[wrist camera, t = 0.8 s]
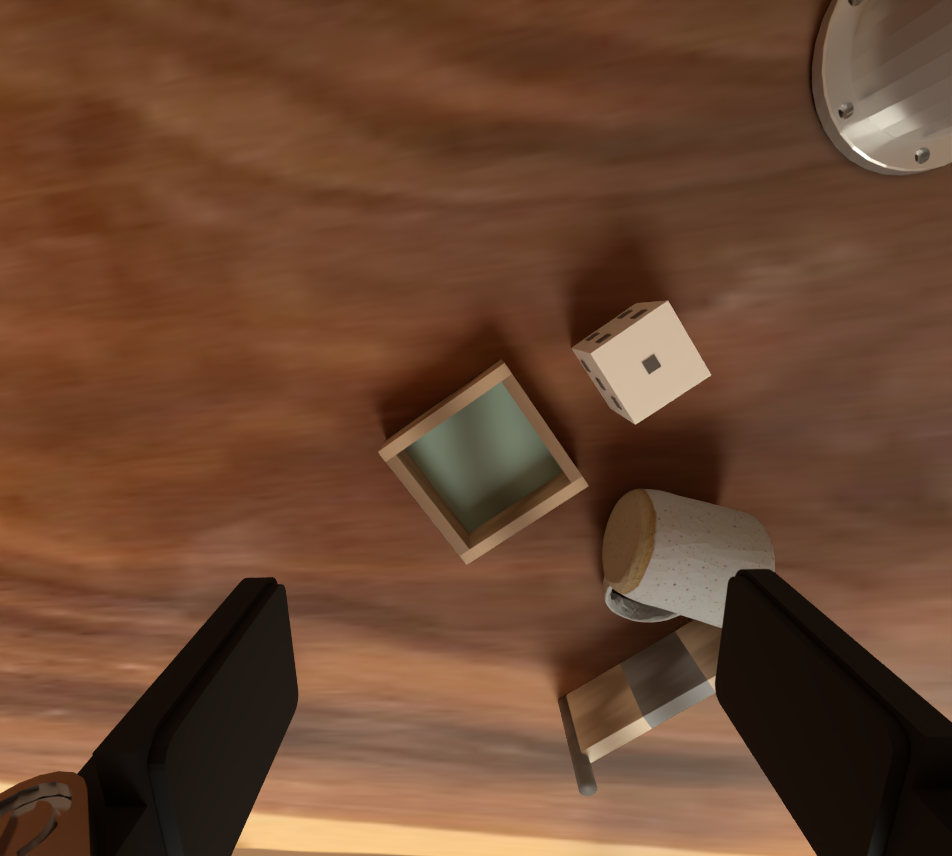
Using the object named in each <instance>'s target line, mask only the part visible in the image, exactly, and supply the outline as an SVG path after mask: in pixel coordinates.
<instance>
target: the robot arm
mask: <svg viewBox="0 0 952 856" xmlns="http://www.w3.org/2000/svg"><path fill="white" fill-rule="evenodd" d="M812 91H813V96H814V101H815V106H816V111H817V114H818V116H819V119H820V121H821V124H822V126H823V129H824V131H825V132H826V134H827V135H828V137H829V138H830V140H831V141H832V143H833V144H834V146H835V147H836V148H837V149H838V150H839V151H840V152H841V153H842V154H843V155H845V156H846V157H847V158H848V159H849V160H850V161H852V162H854V163H856V164H857V165H859V166H861V167H863V168H864V169H867V170H870V171H874V172H877V173H880V174H888V175H908V174H915V173H922V172H925V171H928V170H931V169H934V168H938V167H941V166H944V165H947V164H949V163H951V162H952V0H832V1H831V3H830V5H829V7H828V9H827V11H826V13H825V15H824V17H823V20H822V23H821V26H820V29H819V33H818V36H817V39H816V42H815V49H814V56H813V62H812ZM715 691H716V695H717V698H718V701H719V703H720V705H721V706H722V708H723V709H724V711H725V712H726V714H727V716H728V717H729V719H730V720H731V722H732V723H733V725H734V726H735V728H736V730H737V731H738V733H739V734H740V736H741V737H742V739H743V740H744V742H745V744H746V745H747V747H748V748H749V750H750V751H751V753H752V755H753V756H754V758H755V759H756V761H757V762H758V764H759V765H760V767H761V769H762V770H763V772H764V773H765V775H766V776H767V778H768V780H769V781H770V783H771V784H772V786H773V787H774V789H775V790H776V792H777V794H778V795H779V797H780V798H781V800H782V801H783V803H784V805H785V806H786V808H787V809H788V811H789V812H790V814H791V815H792V817H793V819H794V820H795V822H796V823H797V825H798V826H799V828H800V829H801V831H802V833H803V834H804V836H805V837H806V839H807V840H808V842H809V844H810V845H811V847H812V848H813V850H814V851H815V853H816V854H817V856H952V722H951V721H949V720H948V719H947V718H946V717H945V716H944V715H942V714H941V713H940V712H939V711H938V710H936V709H935V708H934V707H933V706H932V705H931V704H929V703H928V702H927V701H926V700H925V699H923V698H922V697H921V696H920V695H919V694H918V693H916V692H915V691H914V690H913V689H912V688H910V687H909V686H908V685H907V684H906V683H905V682H903V681H902V680H901V679H900V678H899V677H897V676H896V675H895V674H894V673H893V672H892V671H890V670H889V669H888V668H887V667H886V666H885V665H883V664H882V663H881V662H880V661H879V660H877V659H876V658H875V657H874V656H873V655H872V654H870V653H869V652H868V651H867V650H866V649H864V648H863V647H862V646H861V645H860V644H859V643H857V642H856V641H855V640H854V639H853V638H851V637H850V636H849V635H848V634H847V633H846V632H844V631H843V630H842V629H841V628H840V627H838V626H837V625H836V624H835V623H834V622H833V621H831V620H830V619H829V618H828V617H827V616H826V615H824V614H823V613H822V612H821V611H820V610H818V609H817V608H816V607H815V606H814V605H813V604H811V603H810V602H809V601H808V600H807V599H805V598H804V597H803V596H802V595H801V594H800V593H798V592H797V591H796V590H795V589H794V588H792V587H791V586H790V585H789V584H788V583H787V582H785V581H784V580H783V579H782V578H781V577H779V576H778V575H777V574H776V573H775V572H773V571H772V570H770V569H740V570H739V571H737V573H736V575H735V576H734V577H731V578H730V579H729V581H728V586H727V593H726V601H725V609H724V616H723V624H722V632H721V639H720V647H719V655H718V663H717V670H716V678H715ZM297 702H298V685H297V677H296V669H295V661H294V653H293V645H292V637H291V629H290V621H289V613H288V605H287V597H286V590H285V587H284V585H282V584H277V581H276V579H275V578H273V577H266V578H244V579H243V580H242V581H241V582H240V583H239V584H238V585H237V587H236V588H235V589H234V590H233V591H232V592H231V594H230V595H229V596H228V597H227V598H226V599H225V601H224V602H223V603H222V604H221V605H220V606H219V607H218V609H217V610H216V611H215V612H214V613H213V614H212V616H211V617H210V618H209V619H208V620H207V621H206V623H205V624H204V625H203V626H202V627H201V628H200V629H199V631H198V632H197V633H196V634H195V635H194V636H193V638H192V639H191V640H190V641H189V642H188V643H187V645H186V646H185V647H184V648H183V649H182V650H181V651H180V653H179V654H178V655H177V656H176V657H175V658H174V660H173V661H172V662H171V663H170V664H169V665H168V667H167V668H166V669H165V670H164V671H163V672H162V673H161V675H160V676H159V677H158V678H157V679H156V680H155V682H154V683H153V684H152V685H151V686H150V687H149V688H148V690H147V691H146V692H145V693H144V694H143V695H142V697H141V698H140V699H139V700H138V701H137V702H136V704H135V705H134V706H133V707H132V708H131V709H130V710H129V712H128V713H127V714H126V715H125V716H124V717H123V719H122V720H121V721H120V722H119V723H118V724H117V726H116V727H115V728H114V729H113V730H112V731H111V732H110V734H109V735H108V736H107V737H106V738H105V739H104V741H103V742H102V743H101V744H100V745H99V746H98V748H97V749H96V750H95V751H94V752H93V753H92V754H93V756H92V757H91V758H90V760H89V761H88V762H87V763H86V764H85V765H84V767H83V768H82V769H81V770H80V771H79V772H78V774H76V773H74V772H61V771H58V772H53V773H48V774H43V775H39V776H37V777H34V778H31V779H29V780H26V781H24V782H21V783H19V784H17V785H15V786H13V787H11V788H9V789H8V790H6V791H4V792H2V793H0V856H231V855H232V853H233V850H234V848H235V846H236V844H237V841H238V839H239V837H240V835H241V832H242V830H243V828H244V826H245V823H246V821H247V819H248V817H249V814H250V812H251V810H252V808H253V805H254V803H255V801H256V799H257V796H258V794H259V792H260V790H261V787H262V785H263V783H264V781H265V778H266V776H267V774H268V772H269V769H270V767H271V765H272V762H273V760H274V758H275V756H276V753H277V751H278V749H279V747H280V744H281V742H282V740H283V738H284V735H285V733H286V731H287V729H288V726H289V724H290V722H291V720H292V717H293V715H294V713H295V710H296V707H297Z"/></svg>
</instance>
